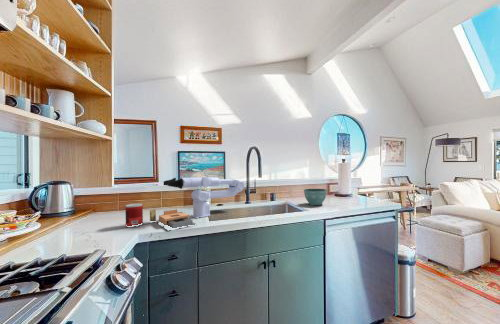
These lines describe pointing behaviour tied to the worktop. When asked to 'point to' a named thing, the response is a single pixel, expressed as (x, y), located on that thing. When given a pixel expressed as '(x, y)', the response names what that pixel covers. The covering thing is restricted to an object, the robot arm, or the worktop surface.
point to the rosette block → (180, 222)
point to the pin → (153, 215)
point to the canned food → (134, 214)
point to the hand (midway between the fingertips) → (165, 183)
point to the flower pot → (315, 196)
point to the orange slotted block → (171, 216)
